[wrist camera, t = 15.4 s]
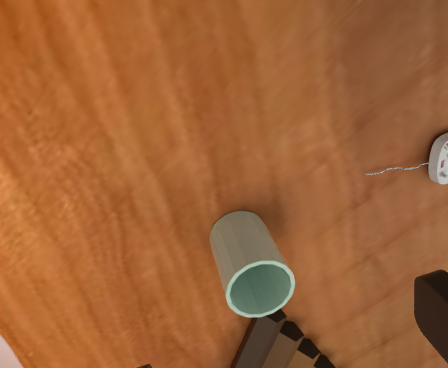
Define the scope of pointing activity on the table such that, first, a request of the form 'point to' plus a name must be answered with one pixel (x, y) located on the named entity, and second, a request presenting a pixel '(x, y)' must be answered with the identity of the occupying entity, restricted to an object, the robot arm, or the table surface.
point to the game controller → (436, 161)
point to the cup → (250, 265)
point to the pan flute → (277, 346)
